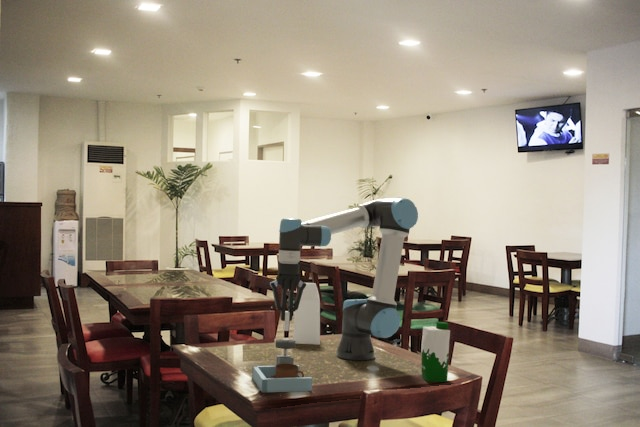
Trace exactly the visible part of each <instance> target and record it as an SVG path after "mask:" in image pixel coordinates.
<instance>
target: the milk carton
mask: <svg viewBox="0 0 640 427" xmlns="http://www.w3.org/2000/svg"><path fill="white" fill-rule="evenodd" d="M450 336H451V330H450V329H449V322H448V321H447V322H446V321H437V322H436V326H432V325H431V326H422V340H421V363H420V364H421V365H420V366H421V377H422V379H424V380H425V381H426V382H427V383H429V382H430V383H447V382H448V374H449V373H448V372H449V356H450V355H449V353H450V352H449V351H450Z"/></svg>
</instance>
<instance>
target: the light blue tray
mask: <svg viewBox="0 0 640 427" xmlns="http://www.w3.org/2000/svg"><path fill="white" fill-rule="evenodd" d="M275 358H276V361H275V365H253V366H252V371H251V372H252V373H251V374H252V376H251V378H252V380H253V381H254V383H255V384H256V386H257V387H258V389H259V391H261V393H263V394H264V393H285V392H286V393H287V392H288V393H289V392H293V393H294V392H312V391H313V377H312V376H311V377H310V376H304V377H302V376H300V373H298V376H300V377H294V378H269V377H271V376H274V375H276V365H278V364H294V357H292V355H291V354H288V355H286V356H284V354H283V355H282V354H281V355H280V354H279V355H276V357H275ZM296 365H297V366H298V371H301V368H300V367H301V366H300V365H299V364H296Z"/></svg>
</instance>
